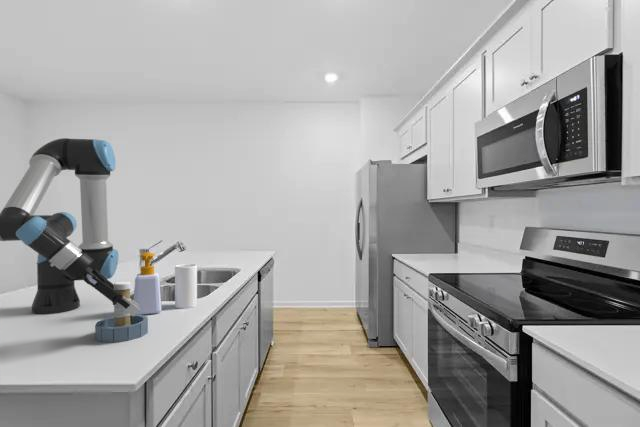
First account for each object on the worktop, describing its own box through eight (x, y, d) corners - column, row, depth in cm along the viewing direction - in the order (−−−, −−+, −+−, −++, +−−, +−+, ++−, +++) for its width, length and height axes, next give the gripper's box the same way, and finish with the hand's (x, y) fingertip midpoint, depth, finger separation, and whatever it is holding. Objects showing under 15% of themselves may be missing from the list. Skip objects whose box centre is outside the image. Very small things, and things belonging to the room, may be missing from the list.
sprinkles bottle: (123, 323, 118) (123, 280, 118) (134, 325, 116) (134, 281, 116) (110, 327, 114) (110, 283, 114) (120, 329, 112) (120, 284, 112)
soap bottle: (130, 319, 130) (130, 255, 130) (134, 309, 143) (134, 251, 143) (160, 317, 134) (160, 254, 134) (161, 307, 147) (161, 250, 146)
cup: (184, 309, 144) (184, 267, 144) (170, 306, 148) (170, 265, 148) (201, 305, 151) (201, 265, 151) (187, 302, 155) (187, 263, 155)
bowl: (87, 335, 114) (87, 322, 114) (133, 324, 125) (133, 312, 125) (109, 345, 106) (109, 331, 105) (156, 332, 117) (156, 319, 117)
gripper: (64, 266, 115) (125, 313, 123) (58, 275, 100) (127, 328, 108) (85, 248, 118) (143, 295, 126) (81, 254, 103) (148, 307, 111)
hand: (136, 310), depth 117 cm, fingers closed on sprinkles bottle, 4 cm apart
